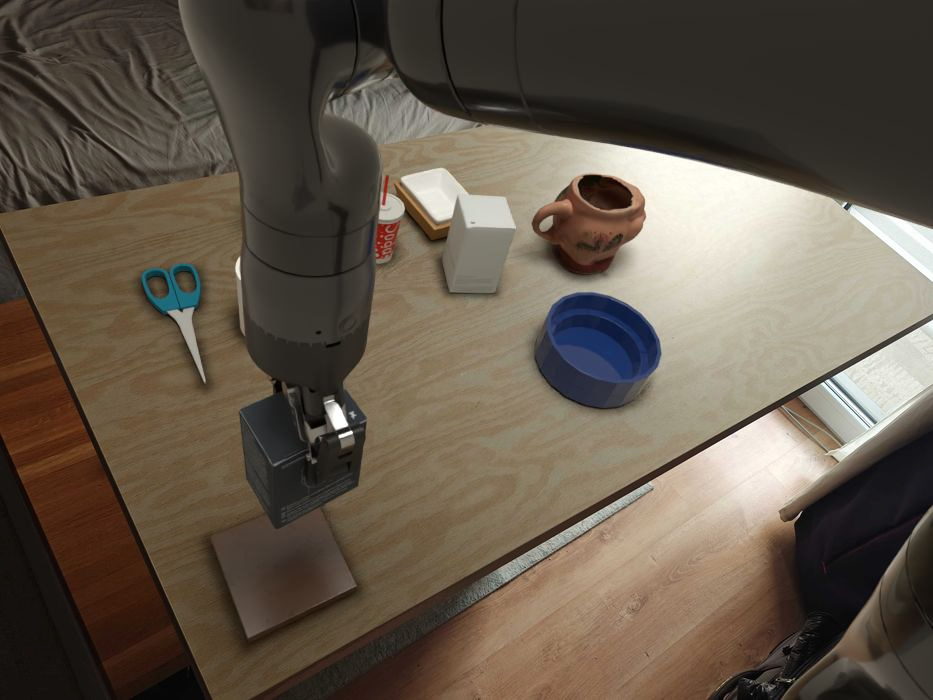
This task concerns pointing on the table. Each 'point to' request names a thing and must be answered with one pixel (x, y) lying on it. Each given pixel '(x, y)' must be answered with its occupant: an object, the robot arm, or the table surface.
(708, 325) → the table surface
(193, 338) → the scissors
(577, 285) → the table surface
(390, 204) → the beverage cup
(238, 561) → the board
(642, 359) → the bowl
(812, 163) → the robot arm
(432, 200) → the soap dish
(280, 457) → the box
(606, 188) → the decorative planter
